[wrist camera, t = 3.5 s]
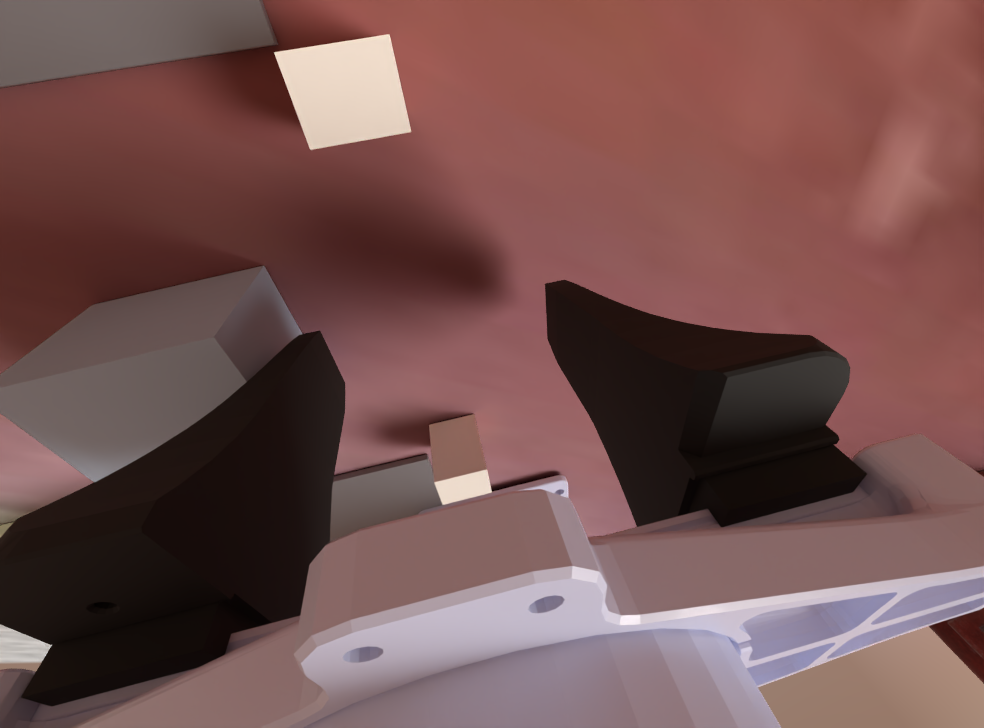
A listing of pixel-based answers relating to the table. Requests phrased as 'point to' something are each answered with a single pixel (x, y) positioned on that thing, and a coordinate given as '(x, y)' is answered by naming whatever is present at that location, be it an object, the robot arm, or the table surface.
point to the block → (145, 367)
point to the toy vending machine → (965, 637)
